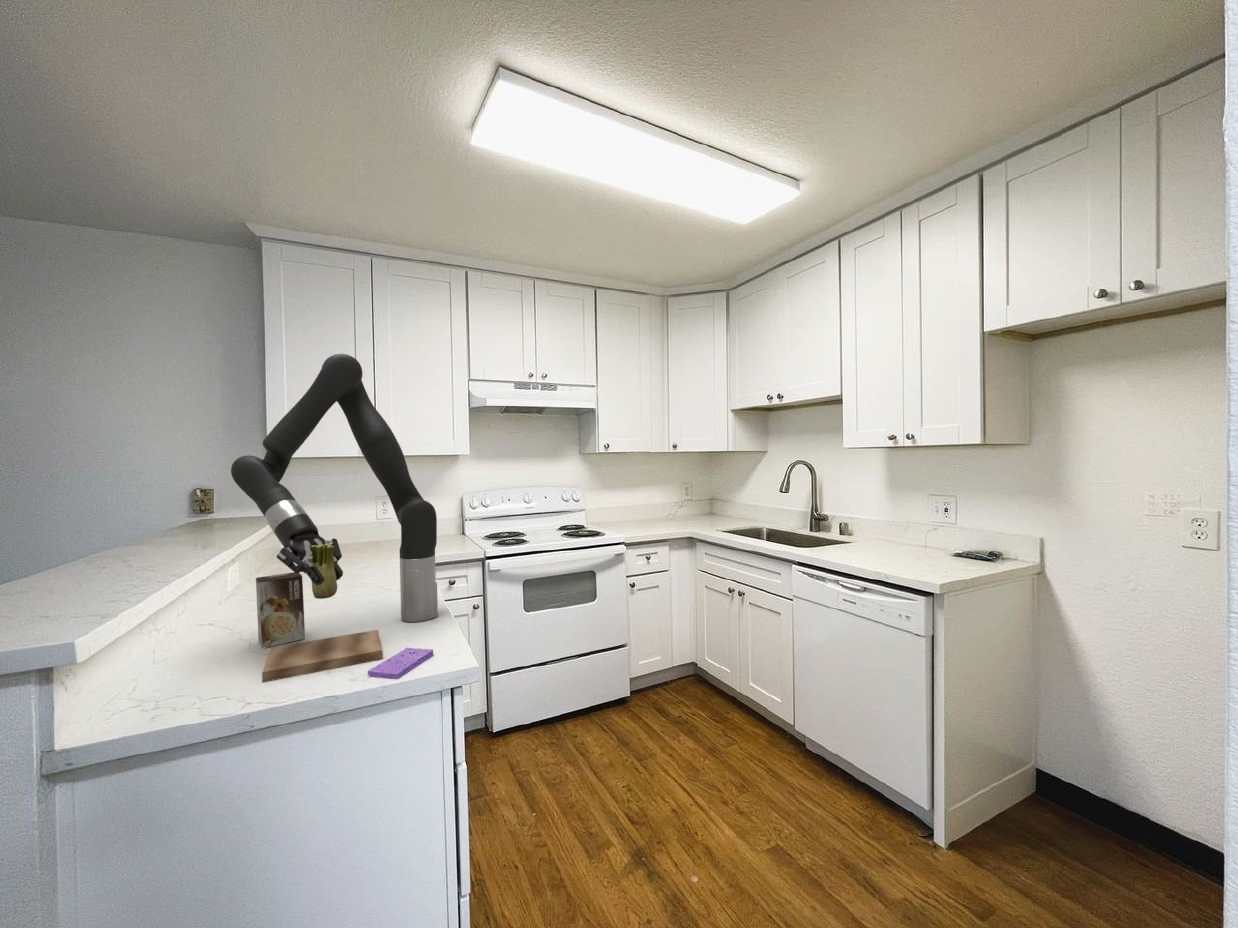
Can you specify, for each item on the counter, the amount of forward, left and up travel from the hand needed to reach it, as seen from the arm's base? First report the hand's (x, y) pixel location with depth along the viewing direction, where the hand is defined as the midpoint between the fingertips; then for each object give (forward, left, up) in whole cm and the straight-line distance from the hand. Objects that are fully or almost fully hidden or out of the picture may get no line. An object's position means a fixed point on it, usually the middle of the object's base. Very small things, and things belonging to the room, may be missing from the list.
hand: (330, 579), depth 112 cm
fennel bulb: (+1, -2, -4) cm, 5 cm away
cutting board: (+1, -1, -18) cm, 18 cm away
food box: (+11, -19, -18) cm, 29 cm away
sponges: (-13, +12, -19) cm, 26 cm away
